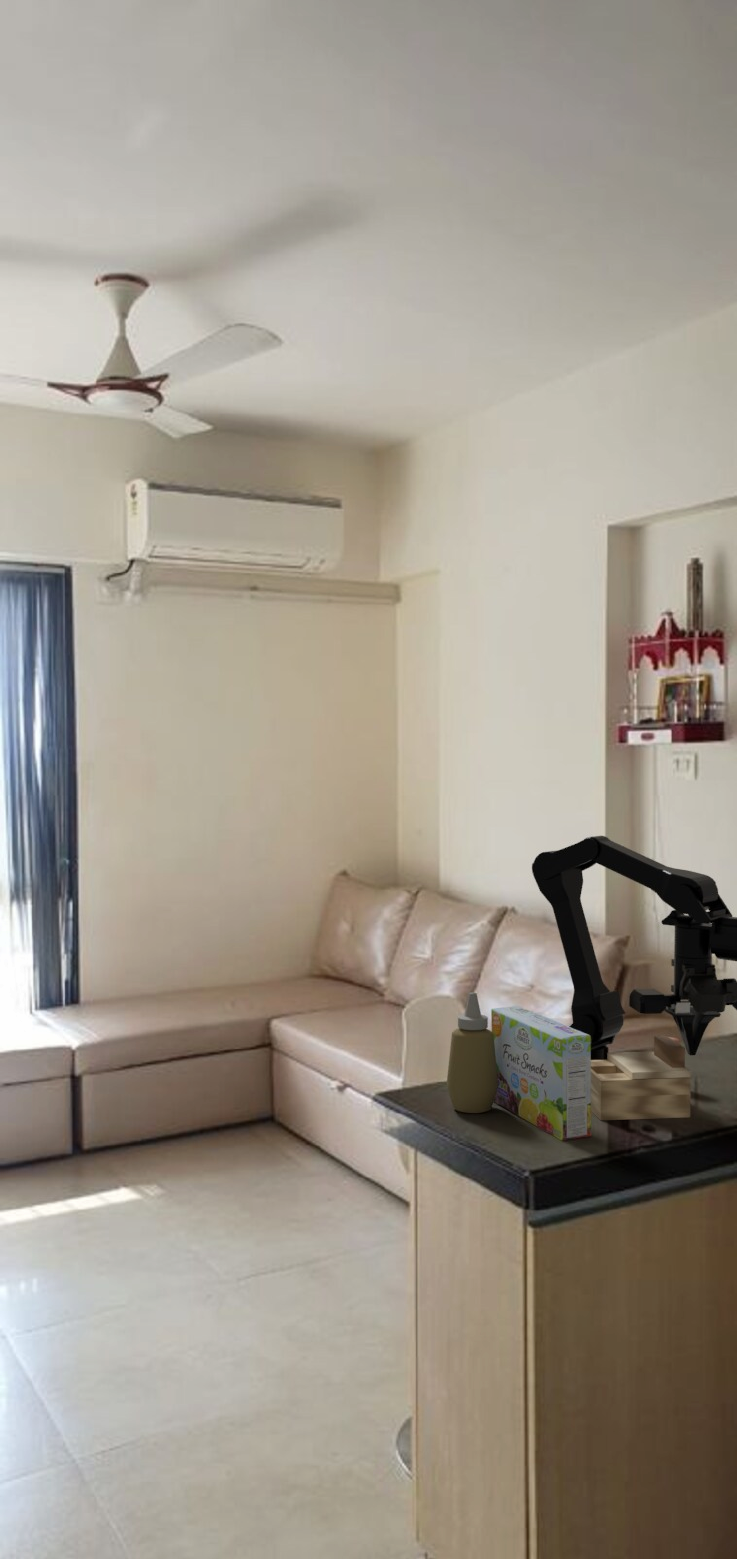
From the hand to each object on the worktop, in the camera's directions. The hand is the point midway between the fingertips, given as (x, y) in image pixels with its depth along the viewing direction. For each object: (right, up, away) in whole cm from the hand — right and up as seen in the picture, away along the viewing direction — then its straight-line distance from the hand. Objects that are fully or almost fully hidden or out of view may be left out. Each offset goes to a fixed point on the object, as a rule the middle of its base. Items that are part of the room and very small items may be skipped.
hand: (691, 1054), depth 197 cm
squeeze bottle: (-34, -8, -2) cm, 36 cm away
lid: (-7, -2, -1) cm, 7 cm away
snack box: (-25, -8, -7) cm, 27 cm away
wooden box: (-9, -8, -1) cm, 12 cm away
